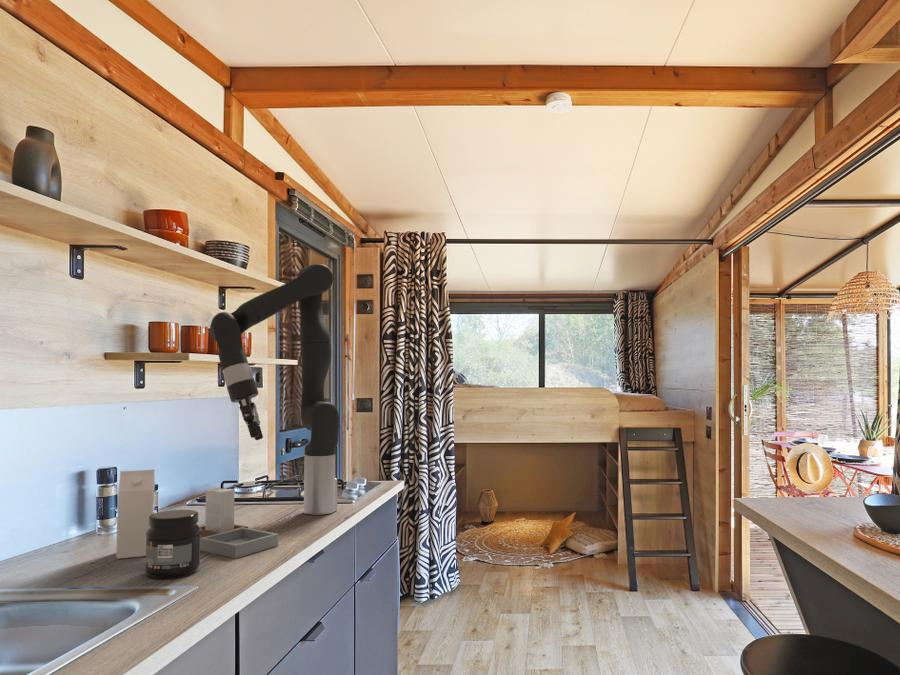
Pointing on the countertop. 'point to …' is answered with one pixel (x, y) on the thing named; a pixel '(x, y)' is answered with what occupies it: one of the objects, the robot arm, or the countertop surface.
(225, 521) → the skincare box
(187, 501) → the countertop surface
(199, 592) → the countertop surface
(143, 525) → the milk carton
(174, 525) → the supplement container
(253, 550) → the tray
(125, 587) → the countertop surface
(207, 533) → the holder
